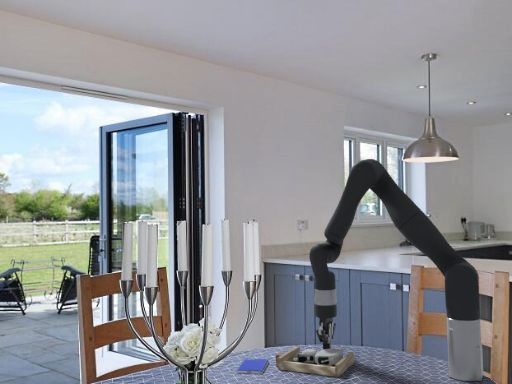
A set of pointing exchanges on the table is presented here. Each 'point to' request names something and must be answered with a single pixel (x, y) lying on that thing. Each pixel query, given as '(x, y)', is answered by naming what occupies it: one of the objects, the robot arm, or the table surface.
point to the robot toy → (320, 356)
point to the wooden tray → (286, 363)
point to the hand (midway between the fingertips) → (326, 353)
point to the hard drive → (253, 366)
